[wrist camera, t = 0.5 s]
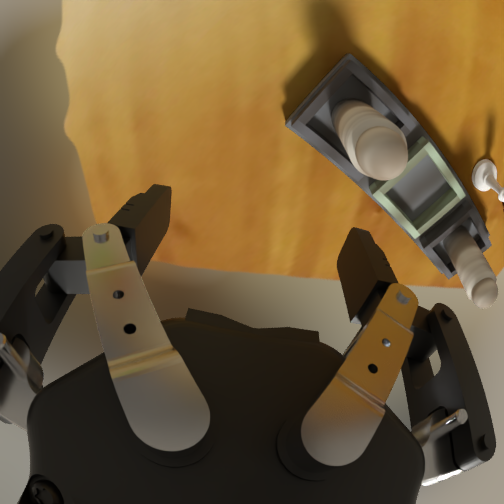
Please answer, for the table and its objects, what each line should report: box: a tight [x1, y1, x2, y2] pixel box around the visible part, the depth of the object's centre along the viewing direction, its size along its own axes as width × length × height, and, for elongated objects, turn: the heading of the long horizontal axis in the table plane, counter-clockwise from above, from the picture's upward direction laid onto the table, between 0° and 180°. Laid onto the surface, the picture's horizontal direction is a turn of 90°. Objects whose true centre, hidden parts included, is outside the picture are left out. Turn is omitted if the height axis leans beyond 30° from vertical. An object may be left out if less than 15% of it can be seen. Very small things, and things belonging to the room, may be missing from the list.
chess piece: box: [472, 159, 504, 202], centre depth 23 cm, size 5×5×10 cm
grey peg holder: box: [285, 54, 498, 308], centre depth 25 cm, size 34×11×15 cm, turn 55°
